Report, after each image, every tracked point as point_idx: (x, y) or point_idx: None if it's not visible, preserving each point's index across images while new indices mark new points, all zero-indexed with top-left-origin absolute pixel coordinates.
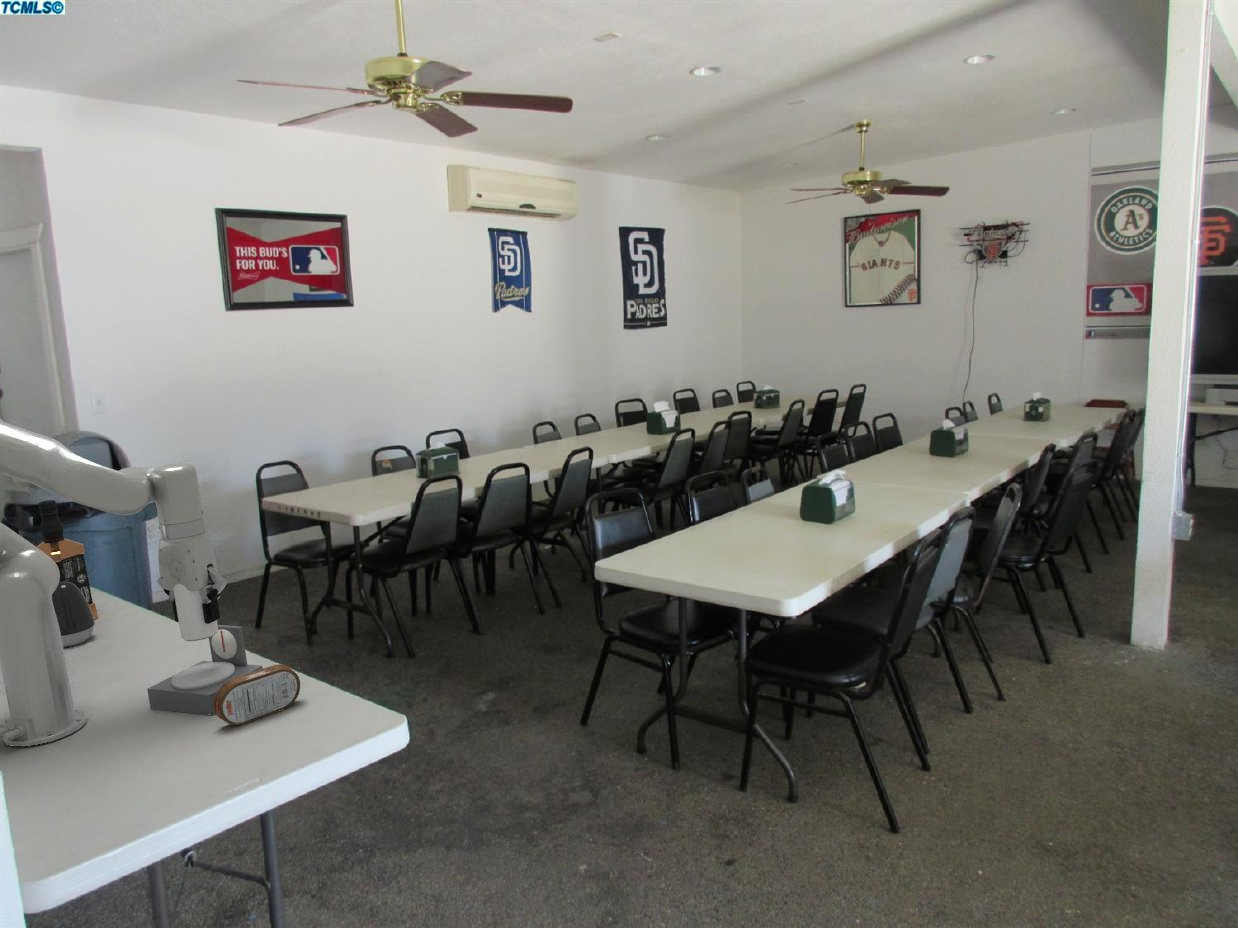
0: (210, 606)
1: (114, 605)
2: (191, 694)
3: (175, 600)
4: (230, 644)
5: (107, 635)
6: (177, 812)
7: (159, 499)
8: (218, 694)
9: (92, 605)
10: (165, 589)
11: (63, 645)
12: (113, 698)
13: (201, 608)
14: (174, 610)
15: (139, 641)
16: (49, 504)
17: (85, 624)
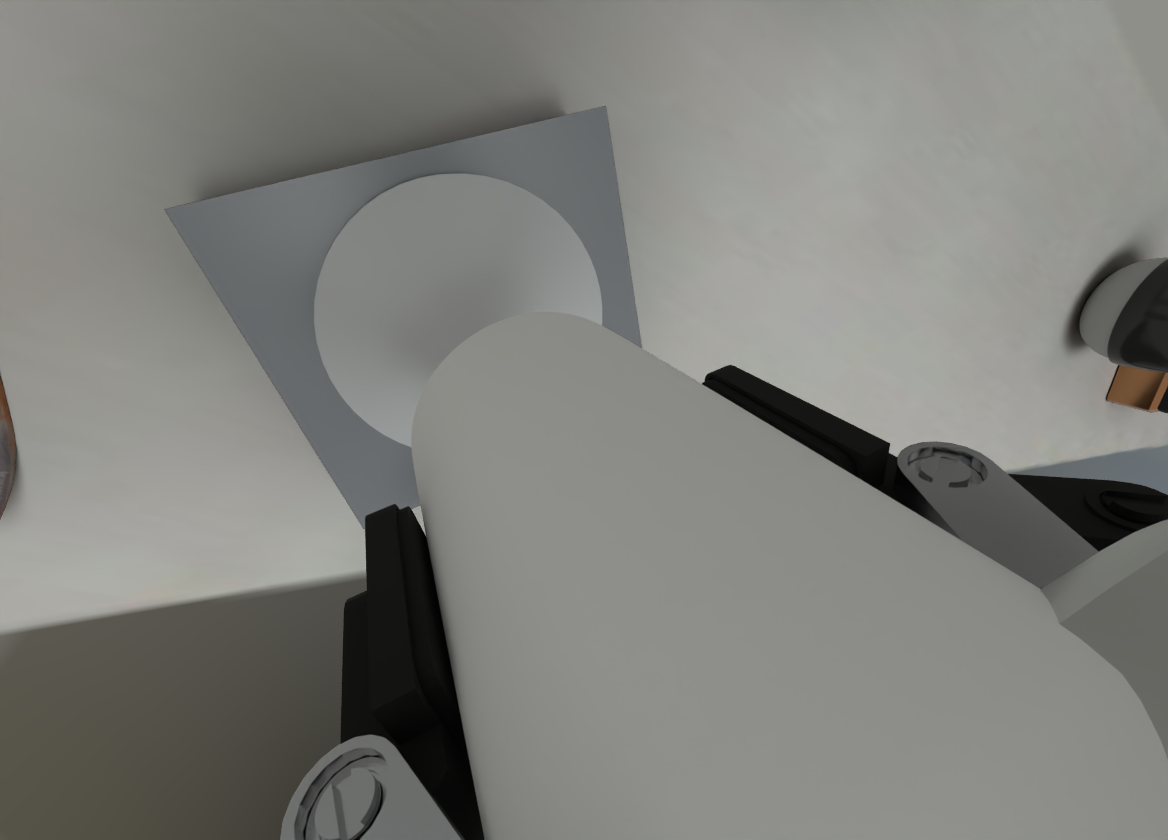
0: (347, 716)
1: (1104, 444)
2: (312, 175)
3: (830, 471)
4: None
5: (1050, 368)
6: None
7: None
8: None
9: (1151, 404)
10: (1157, 510)
11: (1112, 275)
12: (781, 118)
13: (448, 613)
14: (796, 407)
15: (970, 394)
16: None
17: (1130, 334)
